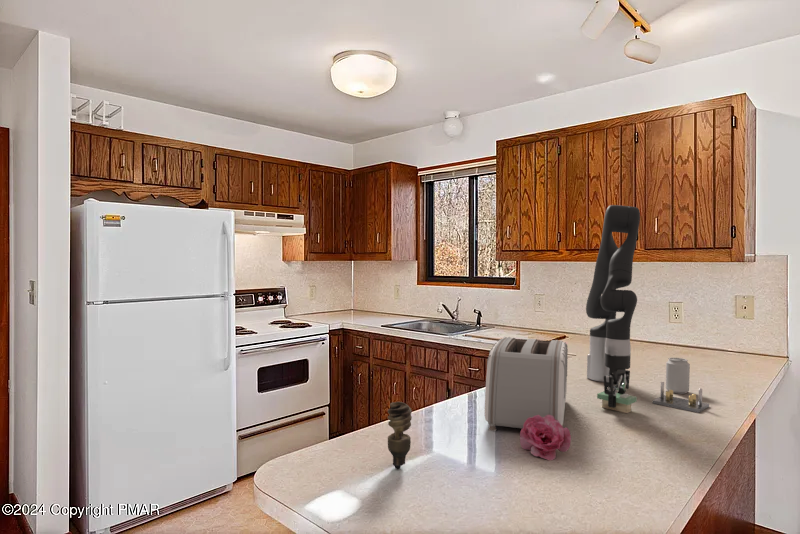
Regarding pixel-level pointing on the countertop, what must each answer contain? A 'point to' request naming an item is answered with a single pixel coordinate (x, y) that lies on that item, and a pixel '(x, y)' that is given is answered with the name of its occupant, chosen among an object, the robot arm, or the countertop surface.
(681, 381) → the can
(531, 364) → the toaster
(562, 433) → the flower
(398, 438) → the light bulb
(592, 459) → the countertop surface
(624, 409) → the beige wooden block
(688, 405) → the chassis
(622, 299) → the robot arm
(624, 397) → the board
